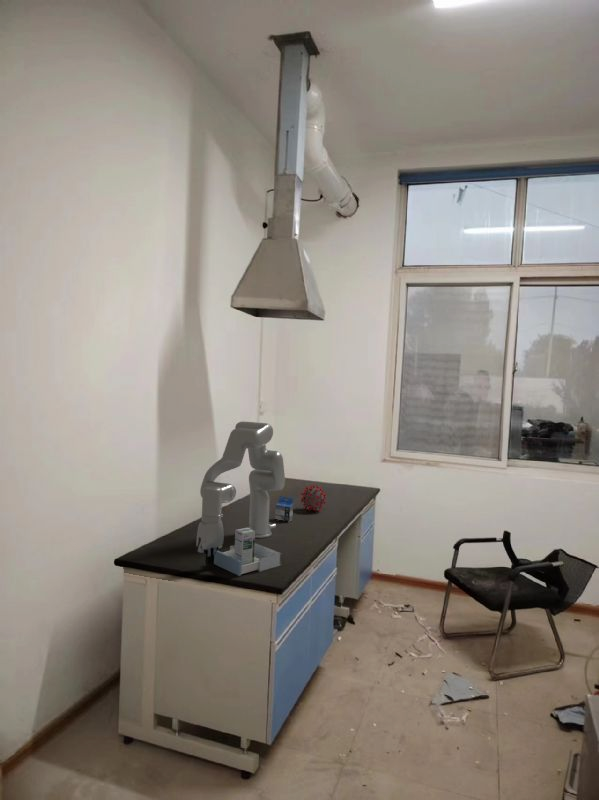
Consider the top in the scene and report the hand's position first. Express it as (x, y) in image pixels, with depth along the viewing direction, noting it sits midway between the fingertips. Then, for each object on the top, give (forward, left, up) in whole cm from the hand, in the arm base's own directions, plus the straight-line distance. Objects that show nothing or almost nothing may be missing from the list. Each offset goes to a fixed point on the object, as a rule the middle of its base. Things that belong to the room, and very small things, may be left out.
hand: (209, 564), depth 199 cm
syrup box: (-10, +9, 0) cm, 13 cm away
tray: (-11, +5, -2) cm, 12 cm away
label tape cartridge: (-72, -34, -2) cm, 79 cm away
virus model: (-100, -39, -2) cm, 107 cm away
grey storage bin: (-19, +5, -2) cm, 19 cm away
